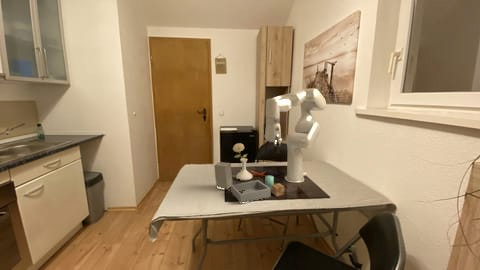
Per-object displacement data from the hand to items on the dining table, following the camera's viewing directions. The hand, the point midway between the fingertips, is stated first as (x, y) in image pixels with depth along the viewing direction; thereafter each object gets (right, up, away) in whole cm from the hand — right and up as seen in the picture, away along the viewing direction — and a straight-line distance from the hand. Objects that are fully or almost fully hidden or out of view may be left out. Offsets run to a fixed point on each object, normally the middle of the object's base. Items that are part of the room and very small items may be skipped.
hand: (272, 151), depth 119 cm
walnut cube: (+3, -24, +1) cm, 25 cm away
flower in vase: (-16, -21, +25) cm, 36 cm away
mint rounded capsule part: (0, -23, +9) cm, 25 cm away
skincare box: (-28, -24, +10) cm, 38 cm away
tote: (-12, -25, 0) cm, 28 cm away
